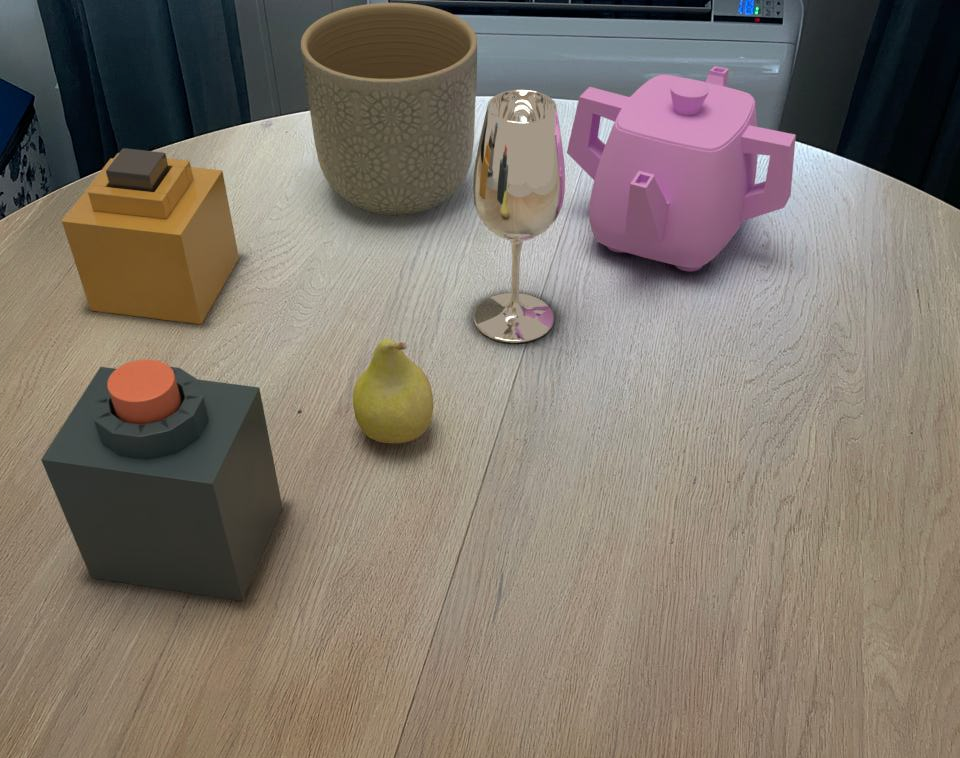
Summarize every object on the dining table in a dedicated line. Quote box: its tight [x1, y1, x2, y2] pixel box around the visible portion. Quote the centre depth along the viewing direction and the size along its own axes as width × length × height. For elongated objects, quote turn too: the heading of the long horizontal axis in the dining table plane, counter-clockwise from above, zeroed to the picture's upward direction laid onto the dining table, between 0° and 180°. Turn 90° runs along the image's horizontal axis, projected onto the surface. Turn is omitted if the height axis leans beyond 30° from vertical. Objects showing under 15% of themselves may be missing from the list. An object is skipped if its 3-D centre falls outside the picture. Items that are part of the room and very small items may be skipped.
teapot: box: [566, 65, 797, 272], centre depth 104 cm, size 19×18×15 cm
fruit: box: [352, 338, 435, 444], centre depth 86 cm, size 7×8×12 cm
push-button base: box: [61, 152, 240, 325], centre depth 100 cm, size 11×11×11 cm
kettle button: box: [106, 147, 169, 192], centre depth 95 cm, size 4×4×2 cm
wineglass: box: [472, 89, 566, 344], centre depth 93 cm, size 8×8×20 cm
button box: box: [40, 366, 283, 602], centre depth 78 cm, size 12×10×14 cm
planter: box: [300, 2, 478, 216], centre depth 109 cm, size 17×17×15 cm
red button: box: [107, 359, 181, 425], centre depth 72 cm, size 4×4×2 cm
